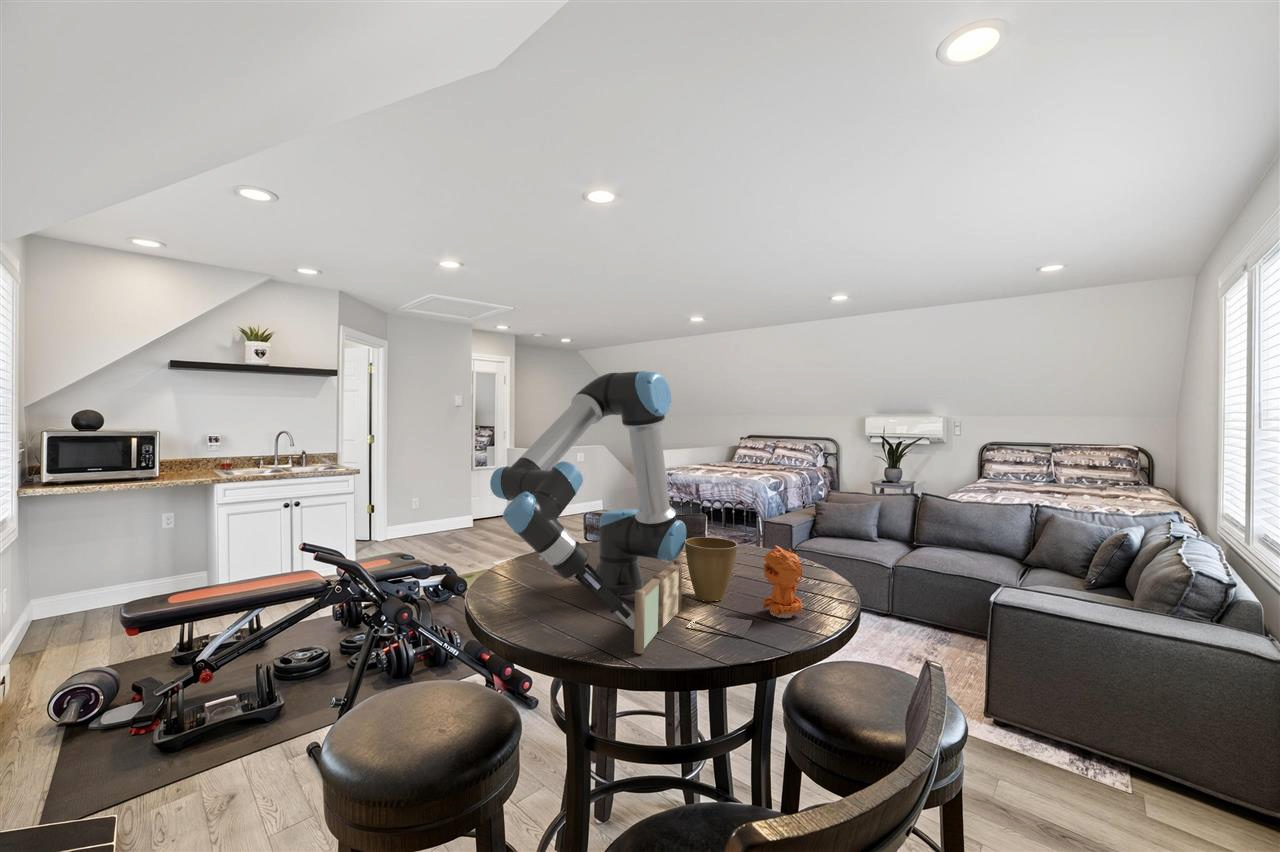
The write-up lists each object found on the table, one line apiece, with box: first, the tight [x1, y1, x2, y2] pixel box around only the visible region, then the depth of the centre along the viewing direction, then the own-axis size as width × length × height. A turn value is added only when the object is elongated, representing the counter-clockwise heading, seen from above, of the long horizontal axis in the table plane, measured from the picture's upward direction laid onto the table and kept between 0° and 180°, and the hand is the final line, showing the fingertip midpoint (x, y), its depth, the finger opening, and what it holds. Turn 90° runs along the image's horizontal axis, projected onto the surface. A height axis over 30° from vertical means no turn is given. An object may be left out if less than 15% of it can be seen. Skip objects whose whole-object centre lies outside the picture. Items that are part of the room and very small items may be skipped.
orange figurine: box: [762, 544, 804, 616], centre depth 142 cm, size 11×11×18 cm
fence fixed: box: [652, 559, 683, 633], centre depth 136 cm, size 16×3×14 cm, turn 156°
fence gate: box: [633, 578, 660, 655], centre depth 122 cm, size 13×2×13 cm, turn 161°
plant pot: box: [684, 536, 738, 602], centre depth 154 cm, size 15×15×16 cm
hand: (635, 623), depth 120 cm, fingers closed
